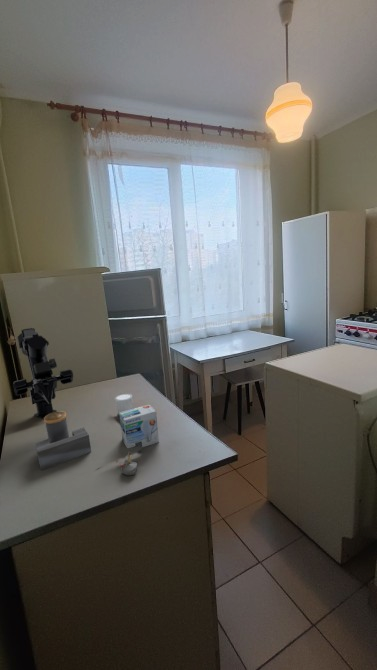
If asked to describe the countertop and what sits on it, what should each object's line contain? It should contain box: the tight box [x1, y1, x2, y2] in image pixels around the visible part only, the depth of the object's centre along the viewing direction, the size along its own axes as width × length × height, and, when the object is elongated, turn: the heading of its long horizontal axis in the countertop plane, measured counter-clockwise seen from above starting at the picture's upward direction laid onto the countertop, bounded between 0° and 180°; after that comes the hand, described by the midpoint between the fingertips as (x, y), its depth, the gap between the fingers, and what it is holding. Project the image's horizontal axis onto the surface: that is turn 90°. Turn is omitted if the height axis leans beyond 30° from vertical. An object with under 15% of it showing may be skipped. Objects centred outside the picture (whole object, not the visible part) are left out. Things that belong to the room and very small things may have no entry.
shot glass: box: [114, 393, 134, 417], centre depth 117 cm, size 7×7×7 cm
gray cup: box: [43, 410, 70, 444], centre depth 94 cm, size 6×6×10 cm
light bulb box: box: [118, 404, 160, 449], centre depth 95 cm, size 11×7×11 cm, turn 117°
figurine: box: [120, 450, 138, 476], centre depth 81 cm, size 5×4×6 cm
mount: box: [34, 427, 92, 471], centre depth 93 cm, size 18×16×7 cm
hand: (50, 403), depth 100 cm, fingers closed
